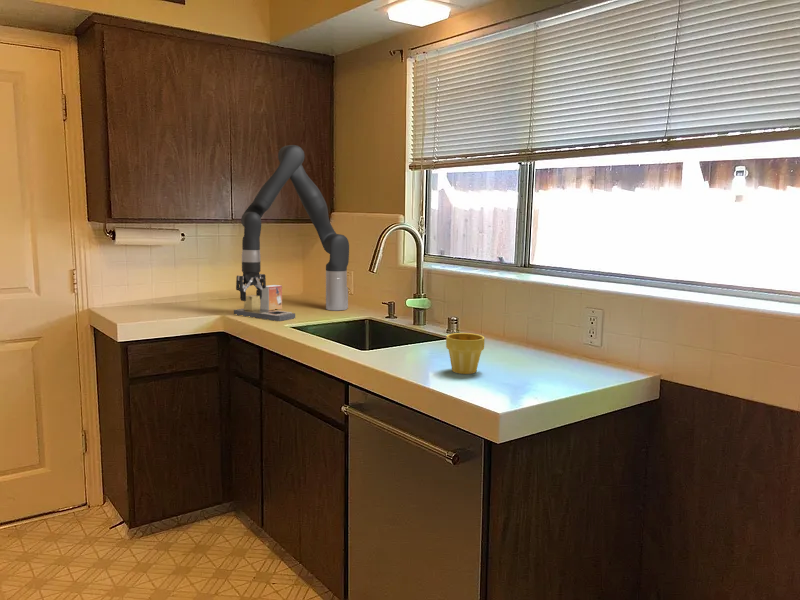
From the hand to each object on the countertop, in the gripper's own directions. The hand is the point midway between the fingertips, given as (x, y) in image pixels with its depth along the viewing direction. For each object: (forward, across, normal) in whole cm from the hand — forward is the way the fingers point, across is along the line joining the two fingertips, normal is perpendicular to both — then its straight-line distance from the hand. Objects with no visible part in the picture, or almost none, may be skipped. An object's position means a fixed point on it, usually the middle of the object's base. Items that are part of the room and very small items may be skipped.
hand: (251, 299), depth 267 cm
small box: (+6, +16, +5) cm, 18 cm away
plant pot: (+6, -32, -117) cm, 121 cm away
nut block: (+6, 0, 0) cm, 6 cm away
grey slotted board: (+6, 0, -7) cm, 9 cm away
